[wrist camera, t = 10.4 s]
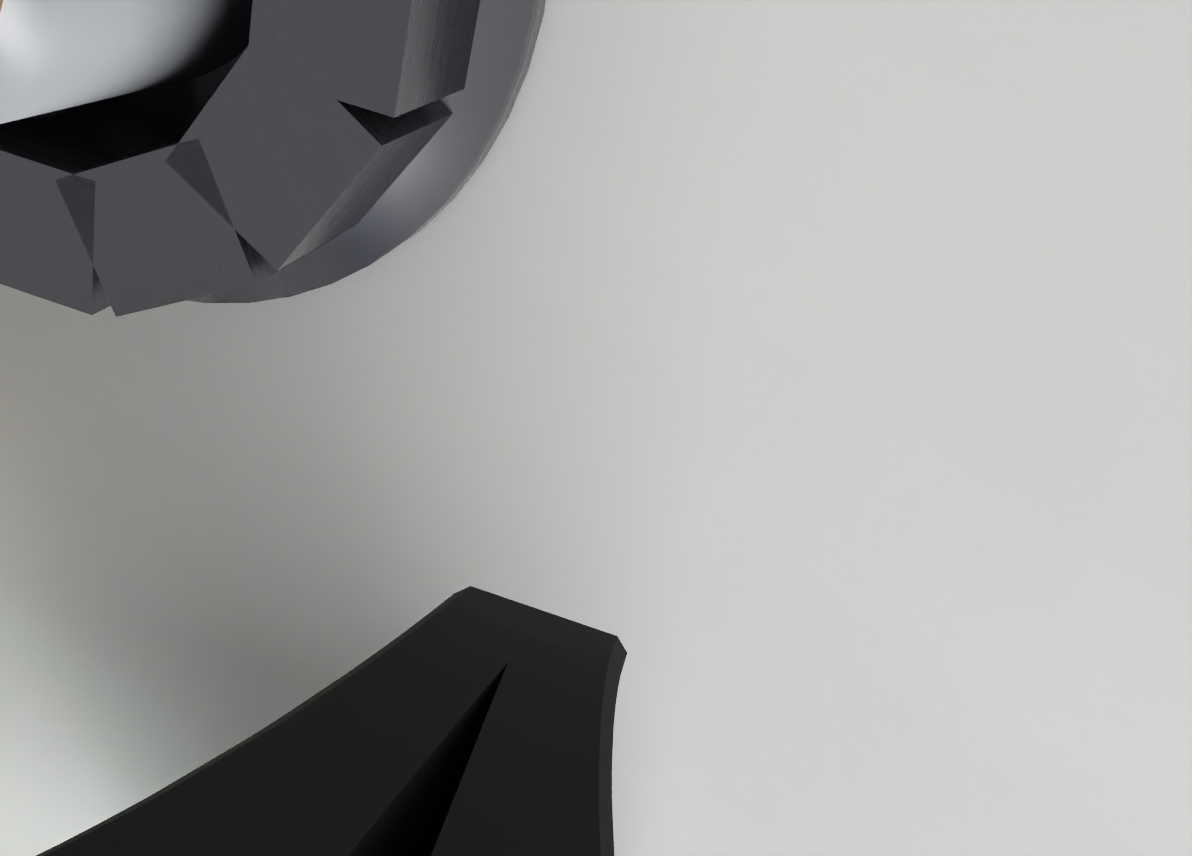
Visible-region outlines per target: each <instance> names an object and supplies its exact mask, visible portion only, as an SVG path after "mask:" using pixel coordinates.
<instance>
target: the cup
mask: <svg viewBox="0 0 1192 856" xmlns="http://www.w3.org/2000/svg"><path fill="white" fill-rule="evenodd" d="M252 1H253V0H0V124H3V123H7V122H11V121H15V120H20V119H24V118H28V117H32V116H36V115H41V114H45V113H49V112H53V111H57V110H61V109H66V108H70V107H74V106H78V105H82V104H87V103H91V102H95V101H99V100H103V99H108V98H112V97H116V96H120V95H124V94H129V93H133V92H137V91H141V90H145V89H150V88H154V87H158V86H162V85H166V84H171V83H175V82H179V81H183V80H187V79H191V78H194V77H198V76H202V75H205V74H207V73H210V72H212V71H214V70H216V69H218V68H220V67H222V66H224V65H225V64H227V63H228V62H230V61H231V60H233V59H234V58H235V57H237V56H238V55H239V54H240V53H241V52H242V51H243V50H245V49H246V48H247V47H248V45H249V35H250V24H251V12H252Z"/></svg>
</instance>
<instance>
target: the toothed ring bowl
mask: <svg viewBox="0 0 1192 856" xmlns="http://www.w3.org/2000/svg"><path fill="white" fill-rule="evenodd" d="M544 7H545V0H253V1H252V12H251V24H250V35H249V45H248V47H247V48H246V49H245V50H243V51H242V52H241V53H240V54H239V55H238V56H237V57H235V58H234V59H233V60H231V61H230V62H228V63H227V64H225V65H224V66H222V67H220V68H218V69H216V70H214V71H212V72H210V73H207V74H205V75H202V76H198V77H194V78H191V79H187V80H183V81H179V82H175V83H171V84H166V85H162V86H158V87H154V88H150V89H145V90H141V91H137V92H133V93H129V94H124V95H120V96H116V97H112V98H108V99H103V100H99V101H95V102H91V103H87V104H82V105H78V106H74V107H70V108H66V109H61V110H57V111H53V112H49V113H45V114H41V115H36V116H32V117H28V118H24V119H20V120H15V121H11V122H7V123H3V124H0V284H3V285H6V286H9V287H12V288H15V289H18V290H20V291H23V292H26V293H29V294H32V295H35V296H38V297H41V298H44V299H47V300H50V301H53V302H56V303H58V304H61V305H64V306H67V307H70V308H73V309H76V310H79V311H82V312H85V313H88V314H91V315H93V314H95V313H97V312H99V311H101V310H103V309H105V308H107V307H109V306H112V309H113V311H114V313H115V315H116V317H117V316H121V315H125V314H129V313H134V312H138V311H142V310H146V309H151V308H155V307H159V306H163V305H168V304H172V303H176V302H180V301H185V300H189V301H197V302H204V303H250V302H257V301H263V300H270V299H276V298H283V297H290V296H293V295H297V294H300V293H303V292H306V291H309V290H313V289H316V288H319V287H322V286H326V285H329V284H332V283H334V282H336V281H338V280H340V279H342V278H344V277H346V276H348V275H350V274H352V273H354V272H356V271H358V270H360V269H362V268H364V267H366V266H368V265H370V264H372V263H373V262H375V261H376V260H378V259H379V258H381V257H382V256H384V255H385V254H387V253H388V252H390V251H391V250H392V249H394V248H395V247H397V246H398V245H400V244H401V243H402V242H404V241H405V240H407V239H408V238H410V237H411V236H412V235H414V234H415V233H417V232H418V231H420V230H421V229H422V228H423V227H424V226H425V225H426V224H427V223H428V222H429V221H431V220H432V219H433V218H434V217H435V216H436V215H437V214H438V213H439V212H440V211H441V210H442V209H443V208H444V207H445V206H446V205H447V204H448V203H449V202H451V201H452V200H453V199H454V198H455V196H456V195H457V194H458V192H459V191H460V190H461V189H462V187H463V186H464V185H465V183H466V182H467V181H468V180H469V178H470V177H471V176H472V175H473V173H474V172H475V171H476V169H477V168H478V167H479V166H480V164H481V163H482V162H483V160H484V159H485V157H486V155H487V153H488V152H489V150H490V148H491V147H492V145H493V143H494V141H495V140H496V138H497V136H498V134H499V133H500V131H501V129H502V128H503V126H504V124H505V122H506V121H507V119H508V117H509V115H510V112H511V110H512V107H513V105H514V103H515V100H516V98H517V95H518V93H519V90H520V88H521V86H522V83H523V81H524V78H525V76H526V73H527V71H528V69H529V65H530V62H531V58H532V54H533V51H534V47H535V43H536V39H537V36H538V32H539V28H540V25H541V21H542V17H543V13H544Z"/></svg>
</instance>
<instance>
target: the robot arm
mask: <svg viewBox="0 0 1192 856" xmlns="http://www.w3.org/2000/svg"><path fill="white" fill-rule="evenodd" d="M626 655H627V652H626V650H625V649H624V647H623V645H622V644H621V642H620V640H619V638H618V637H617V636H615V635H612V634H609V633H606V632H603V631H600V630H597V629H594V628H591V627H589V626H586V625H583V624H580V623H577V622H574V621H571V620H568V619H565V618H562V617H559V616H556V615H553V614H550V613H548V612H545V611H542V610H539V609H536V608H533V607H530V606H527V605H524V604H521V603H518V602H515V601H512V600H509V599H507V598H504V597H501V596H498V595H495V594H492V593H489V592H486V591H483V590H480V589H477V588H474V587H471V586H470V587H468V588H466V589H463V590H461V591H459V592H457V593H454V594H453V595H452V596H451V597H449V598H448V599H447V600H446V601H444V602H443V603H442V604H441V605H439V606H438V607H437V608H435V609H434V610H433V611H432V612H430V613H429V614H428V615H426V616H425V617H424V618H422V619H421V620H420V621H419V622H417V623H416V624H415V625H413V626H412V627H411V628H409V629H408V630H407V631H405V632H404V633H403V634H401V635H400V636H399V637H397V638H396V639H395V640H393V641H392V642H390V643H389V644H388V645H386V646H385V647H384V648H382V649H381V650H379V651H378V652H377V653H375V654H374V655H372V656H371V657H370V658H368V659H367V660H365V661H364V662H363V663H361V664H360V665H358V666H357V667H355V668H354V669H353V670H351V671H350V672H348V673H347V674H346V675H344V676H343V677H341V678H340V679H338V680H337V681H335V682H334V683H332V684H330V685H329V686H327V687H326V688H324V689H323V690H321V691H320V692H318V693H317V694H315V695H314V696H312V697H311V698H309V699H308V700H306V701H305V702H303V703H302V704H300V705H299V706H297V707H296V708H294V709H293V710H291V711H290V712H288V713H287V714H285V715H284V716H282V717H281V718H279V719H278V720H276V721H275V722H273V723H272V724H270V725H269V726H267V727H265V728H264V729H262V730H261V731H259V732H257V733H256V734H254V735H253V736H251V737H249V738H248V739H246V740H244V741H243V742H241V743H239V744H238V745H236V746H234V747H233V748H231V749H229V750H227V751H226V752H224V753H222V754H221V755H219V756H217V757H216V758H214V759H212V760H211V761H209V762H207V763H205V764H204V765H202V766H200V767H199V768H197V769H195V770H194V771H192V772H190V773H188V774H187V775H185V776H183V777H182V778H180V779H178V780H177V781H175V782H173V783H172V784H170V785H168V786H166V787H165V788H163V789H161V790H160V791H158V792H156V793H155V794H153V795H151V796H149V797H147V798H146V799H144V800H142V801H140V802H138V803H137V804H135V805H133V806H131V807H129V808H127V809H125V810H124V811H122V812H120V813H118V814H116V815H114V816H112V817H111V818H109V819H107V820H105V821H103V822H101V823H99V824H98V825H96V826H94V827H92V828H90V829H88V830H86V831H84V832H82V833H80V834H78V835H76V836H74V837H73V838H71V839H69V840H67V841H65V842H63V843H61V844H59V845H57V846H55V847H53V848H51V849H49V850H47V851H45V852H43V853H41V854H39V855H37V856H614V842H613V818H612V747H613V725H614V715H615V704H616V697H617V690H618V684H619V680H620V675H621V672H622V668H623V665H624V662H625V658H626Z"/></svg>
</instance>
